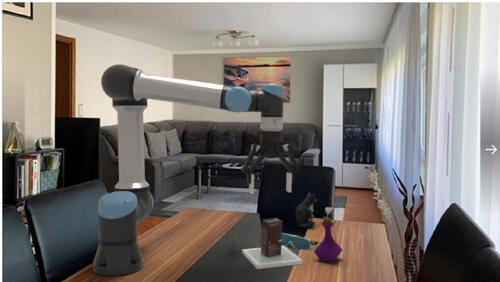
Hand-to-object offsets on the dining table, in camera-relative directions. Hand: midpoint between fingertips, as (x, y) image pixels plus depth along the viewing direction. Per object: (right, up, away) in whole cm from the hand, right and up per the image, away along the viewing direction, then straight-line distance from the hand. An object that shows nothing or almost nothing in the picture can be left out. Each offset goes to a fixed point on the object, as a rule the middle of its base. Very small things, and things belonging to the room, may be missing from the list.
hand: (270, 192), depth 142 cm
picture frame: (0, -23, +1) cm, 23 cm away
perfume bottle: (+20, -23, 0) cm, 30 cm away
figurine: (+18, -20, +41) cm, 49 cm away
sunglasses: (+13, -22, +18) cm, 32 cm away
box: (0, -22, +1) cm, 22 cm away
